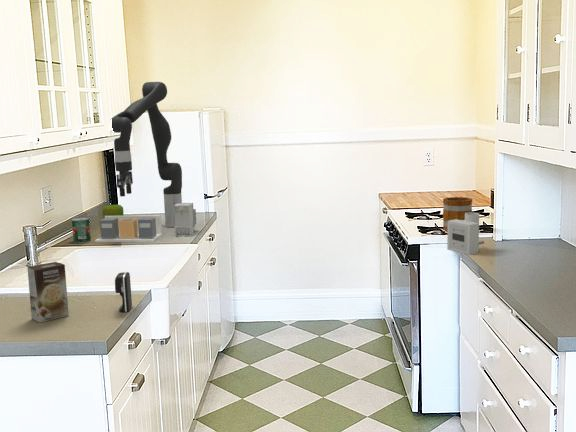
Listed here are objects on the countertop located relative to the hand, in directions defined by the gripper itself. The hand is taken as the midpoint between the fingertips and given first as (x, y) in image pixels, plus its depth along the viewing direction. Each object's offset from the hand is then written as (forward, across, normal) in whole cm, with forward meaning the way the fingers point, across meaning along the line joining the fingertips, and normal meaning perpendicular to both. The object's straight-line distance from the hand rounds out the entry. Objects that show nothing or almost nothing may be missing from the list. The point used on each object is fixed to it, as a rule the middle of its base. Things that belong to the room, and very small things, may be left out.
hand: (125, 195), depth 301 cm
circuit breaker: (+22, -15, +24) cm, 36 cm away
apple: (+22, -45, -25) cm, 56 cm away
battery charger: (+21, +104, +36) cm, 113 cm away
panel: (+22, -2, -1) cm, 22 cm away
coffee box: (+21, +112, +16) cm, 115 cm away
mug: (+22, -19, +155) cm, 158 cm away
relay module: (+20, 0, 0) cm, 20 cm away
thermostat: (+22, +25, +154) cm, 158 cm away
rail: (+22, 0, -1) cm, 22 cm away
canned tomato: (+22, +3, -22) cm, 31 cm away
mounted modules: (+20, 0, 0) cm, 20 cm away
